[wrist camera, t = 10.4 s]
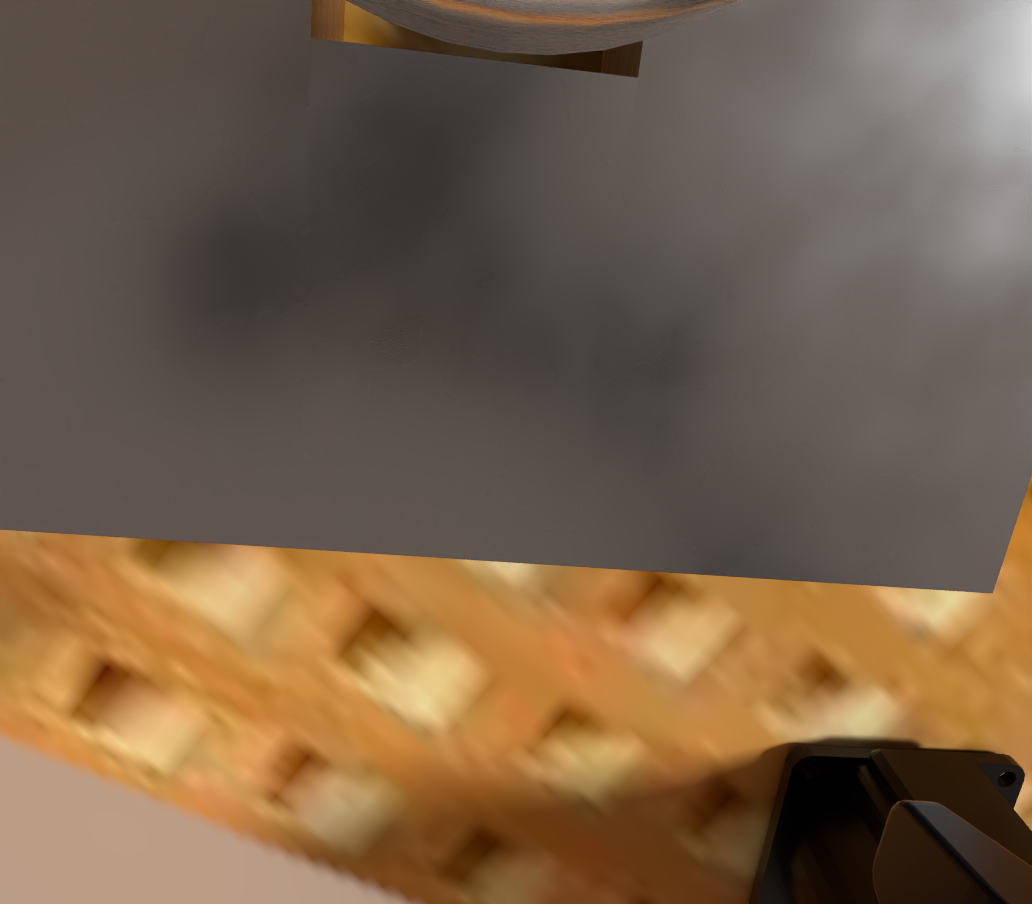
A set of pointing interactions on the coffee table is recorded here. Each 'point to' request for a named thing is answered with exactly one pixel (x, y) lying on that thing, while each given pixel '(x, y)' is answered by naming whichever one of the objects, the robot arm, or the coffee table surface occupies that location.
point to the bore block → (524, 289)
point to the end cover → (543, 21)
